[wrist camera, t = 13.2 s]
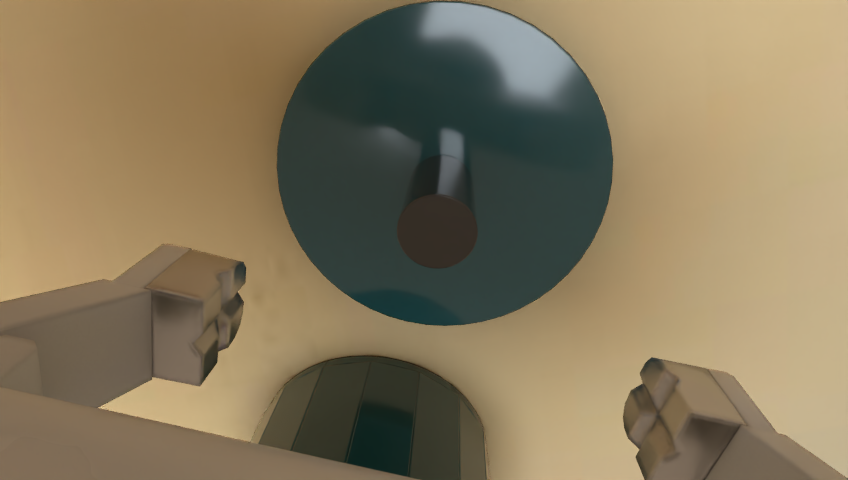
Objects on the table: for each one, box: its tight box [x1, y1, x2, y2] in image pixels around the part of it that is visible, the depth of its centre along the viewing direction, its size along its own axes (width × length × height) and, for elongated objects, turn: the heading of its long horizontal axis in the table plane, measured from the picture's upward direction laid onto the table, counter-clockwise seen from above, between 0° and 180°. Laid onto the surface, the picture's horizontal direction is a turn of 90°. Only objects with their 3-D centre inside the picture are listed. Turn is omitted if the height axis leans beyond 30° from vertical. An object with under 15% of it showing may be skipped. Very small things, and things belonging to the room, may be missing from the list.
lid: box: [277, 1, 613, 326], centre depth 17 cm, size 13×13×6 cm
